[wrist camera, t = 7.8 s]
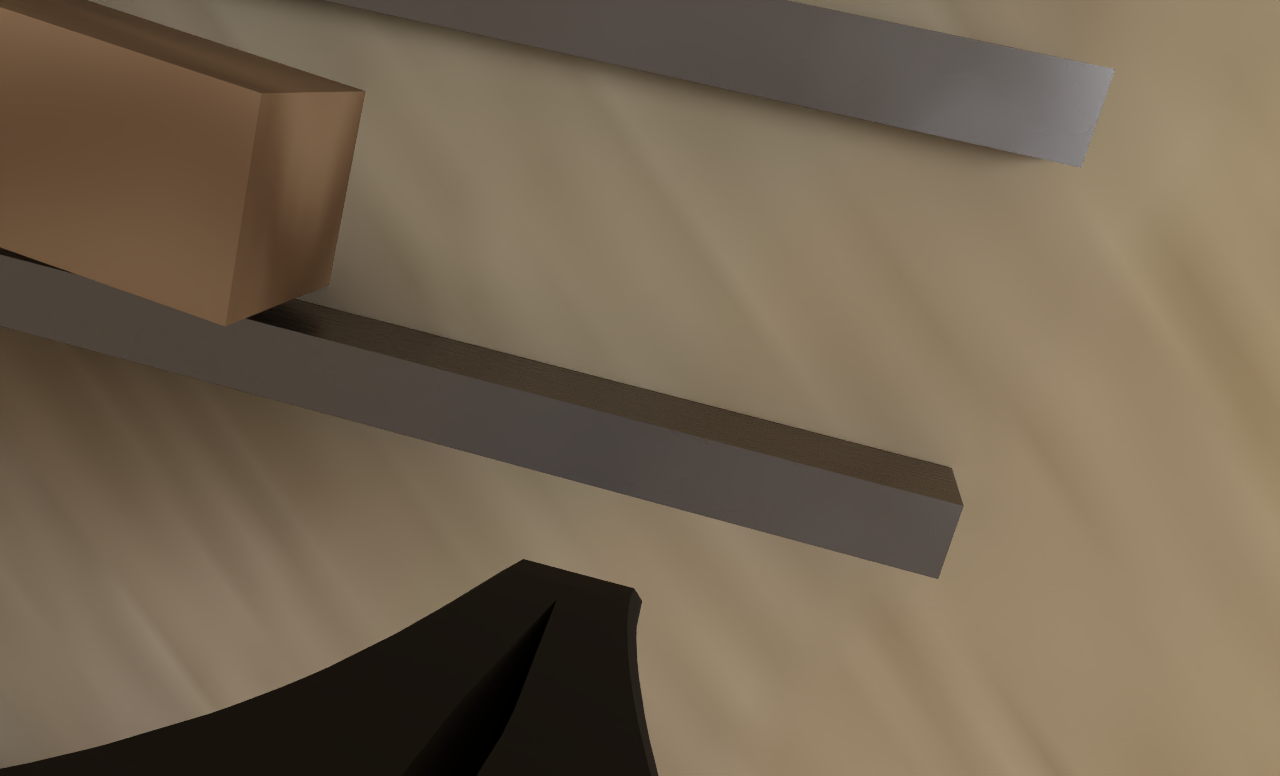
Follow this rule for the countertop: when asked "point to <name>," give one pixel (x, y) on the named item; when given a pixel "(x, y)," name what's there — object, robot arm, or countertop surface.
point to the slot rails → (591, 406)
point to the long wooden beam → (168, 160)
